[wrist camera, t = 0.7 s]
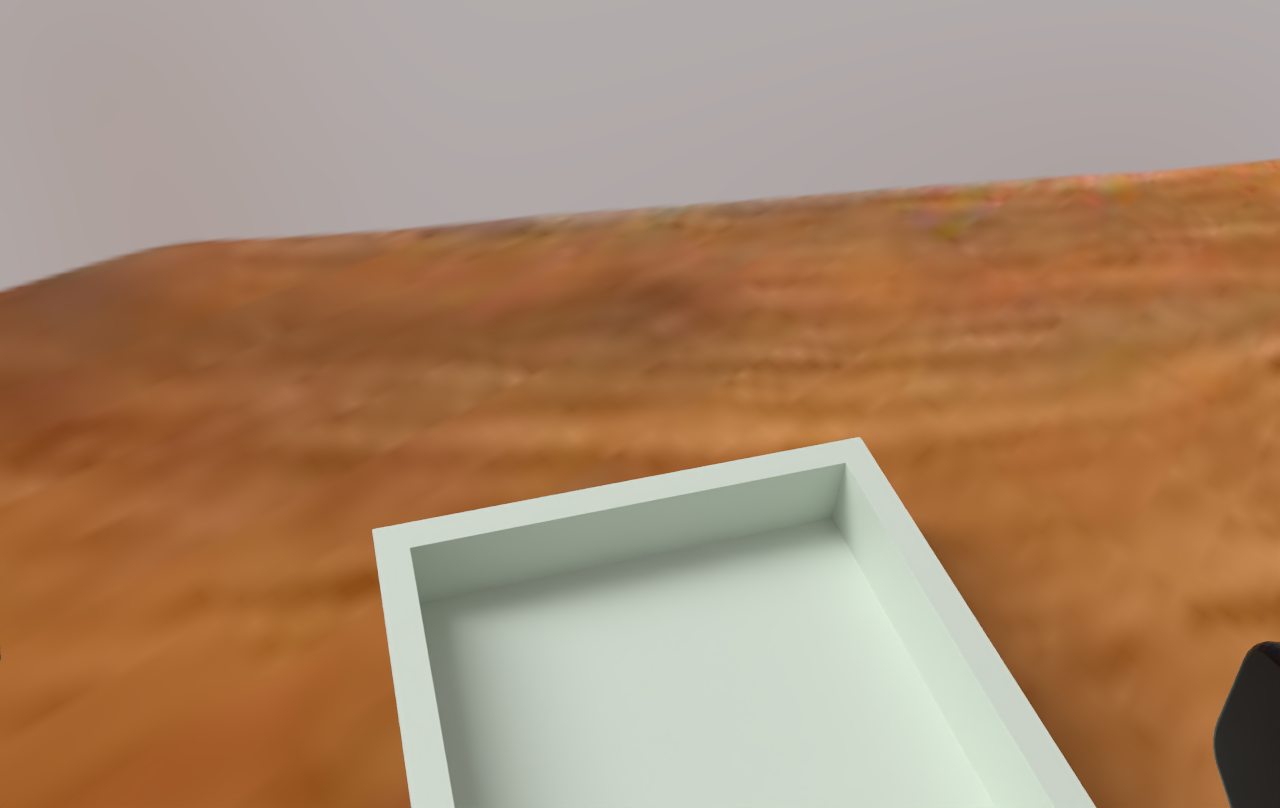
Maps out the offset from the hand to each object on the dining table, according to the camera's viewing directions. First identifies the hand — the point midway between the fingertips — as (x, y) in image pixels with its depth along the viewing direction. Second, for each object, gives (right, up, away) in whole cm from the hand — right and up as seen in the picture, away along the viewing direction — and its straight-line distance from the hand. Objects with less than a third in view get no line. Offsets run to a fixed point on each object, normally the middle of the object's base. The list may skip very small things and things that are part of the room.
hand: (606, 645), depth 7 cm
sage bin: (+2, -7, +17) cm, 18 cm away
